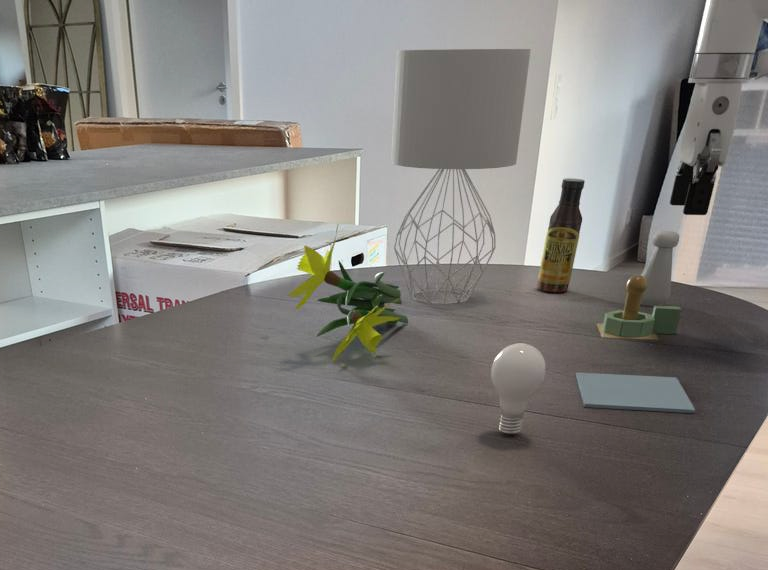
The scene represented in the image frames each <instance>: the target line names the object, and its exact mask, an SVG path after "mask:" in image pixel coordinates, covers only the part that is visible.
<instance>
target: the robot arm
mask: <svg viewBox="0 0 768 570" xmlns="http://www.w3.org/2000/svg"><path fill="white" fill-rule="evenodd" d="M701 18H702V19H701V23H700V27H699V31H698V36H697V41H696V45H695V50H694V55H693V59H692V63H691V68H690V72H689V78H688V81H687V83H688V84H695V85H694V87H693V90H692V95H691V98H690V103H689V106H688V109H687V114H686V118H685V122H684V126H683V131H682V135H681V140H680V145H679V151H678V159H679V163H678V166H677V170H676V174H675V177H674V182H673V185H672V191H671V195H670V198H669V199H670V200H669V205H671V206H683V210H682V213H683V215H685V216H706V215H708V212H709V208H710V204H711V199H712V197H713V191H714V187H715V182H716V181H717V172H718V170H719V167H721V168H722V167H724V166H725V165H726V164H727V163H728V160H729V155H730V150H731V147H732V141H733V137H734V133H735V127H736V124H737V119H738V113H739V107H740V102H741V97H742V96H741V95H742V89H743V84H747V83H748V82H749V78H750V75H751V74H750V73H751V70H752V66H753V62H754V58H755V53H756V49H757V46H758V43H759V39H760V35H761V31H762V26H763V22H766V23H767V24H768V0H706V1H705V4H704V9H703V13H702V17H701Z"/></svg>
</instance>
